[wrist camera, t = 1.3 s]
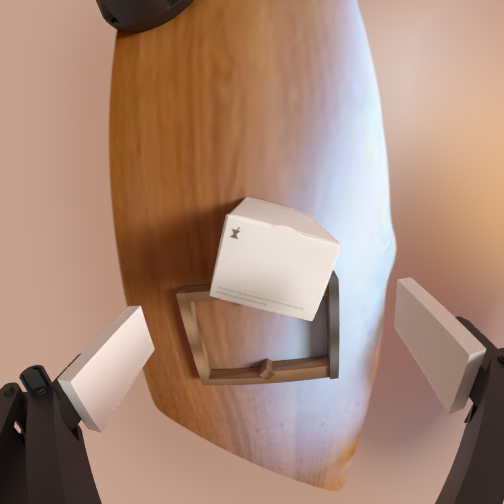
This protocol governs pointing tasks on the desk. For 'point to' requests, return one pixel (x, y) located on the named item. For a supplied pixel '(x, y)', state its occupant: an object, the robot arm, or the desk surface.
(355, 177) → the desk surface
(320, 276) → the skincare box
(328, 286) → the brown wooden shallow tray
